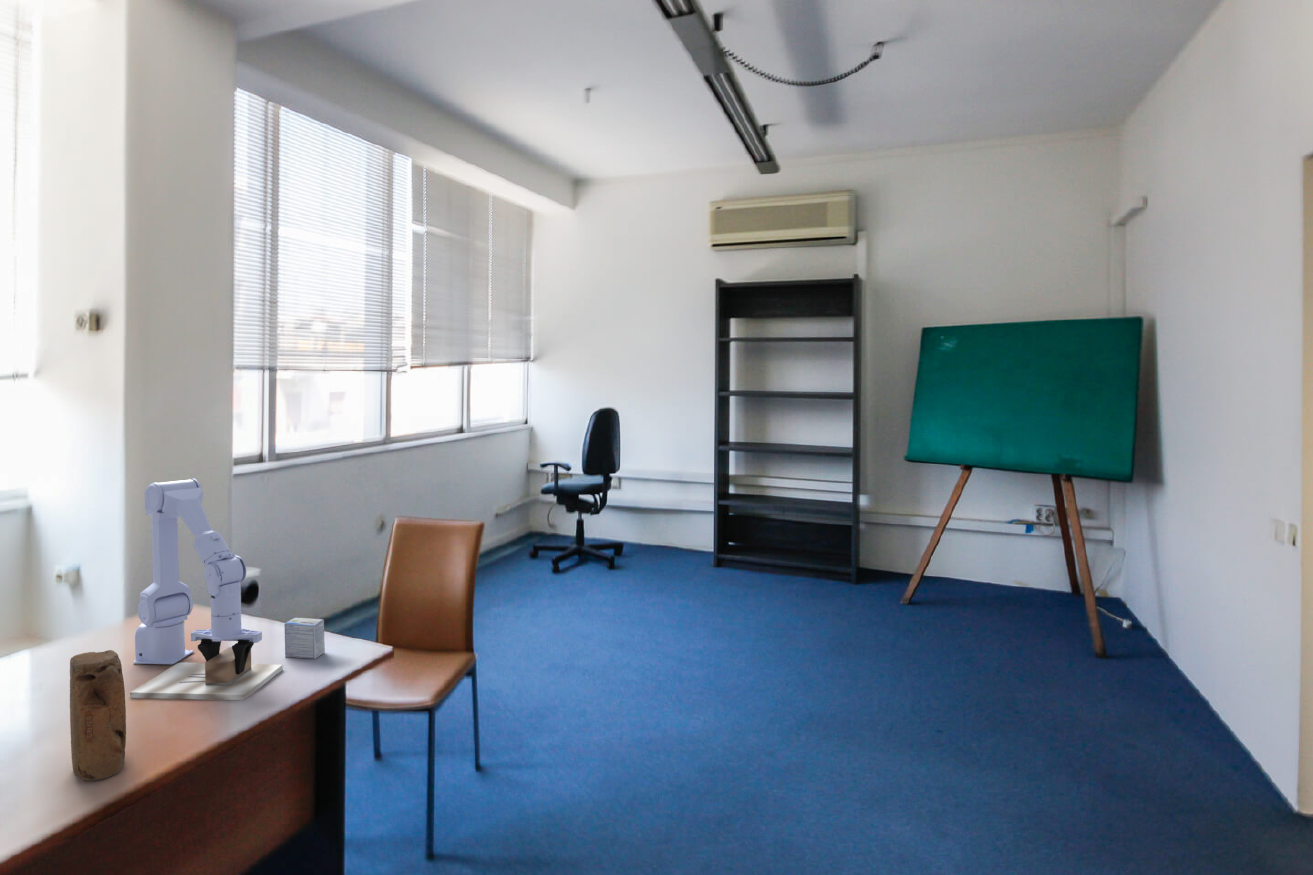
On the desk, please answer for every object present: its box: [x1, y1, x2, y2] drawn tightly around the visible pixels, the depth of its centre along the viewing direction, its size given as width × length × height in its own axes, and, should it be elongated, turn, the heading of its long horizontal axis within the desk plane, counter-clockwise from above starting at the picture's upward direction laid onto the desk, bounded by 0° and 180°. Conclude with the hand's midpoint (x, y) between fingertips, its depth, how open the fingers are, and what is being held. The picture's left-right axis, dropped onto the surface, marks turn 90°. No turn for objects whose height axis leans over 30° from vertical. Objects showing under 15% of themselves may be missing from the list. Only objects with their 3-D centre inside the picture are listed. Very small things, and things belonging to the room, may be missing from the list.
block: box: [69, 649, 127, 782], centre depth 125 cm, size 11×8×20 cm
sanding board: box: [129, 661, 284, 701], centre depth 160 cm, size 24×16×1 cm, turn 91°
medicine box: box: [284, 617, 326, 660], centre depth 177 cm, size 8×4×9 cm, turn 84°
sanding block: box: [204, 646, 252, 686], centre depth 161 cm, size 5×9×5 cm, turn 1°
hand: (227, 672), depth 160 cm, fingers closed on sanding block, 5 cm apart
